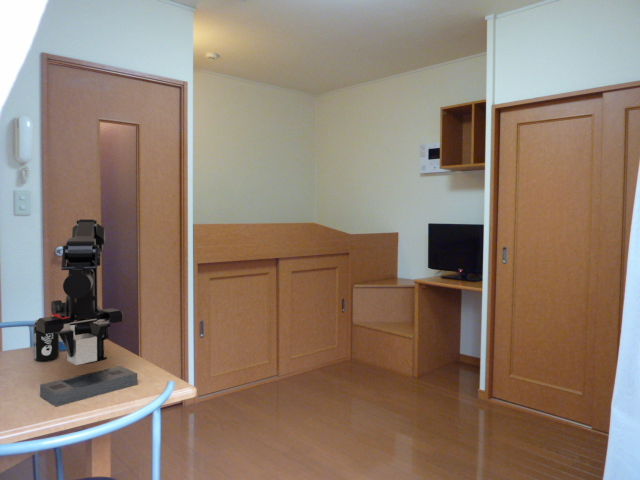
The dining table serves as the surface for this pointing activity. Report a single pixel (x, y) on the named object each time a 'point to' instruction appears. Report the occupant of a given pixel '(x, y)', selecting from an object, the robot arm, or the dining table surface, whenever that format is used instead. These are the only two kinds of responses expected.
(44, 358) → the beverage can
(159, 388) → the dining table surface
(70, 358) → the block
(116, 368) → the grey slotted board
